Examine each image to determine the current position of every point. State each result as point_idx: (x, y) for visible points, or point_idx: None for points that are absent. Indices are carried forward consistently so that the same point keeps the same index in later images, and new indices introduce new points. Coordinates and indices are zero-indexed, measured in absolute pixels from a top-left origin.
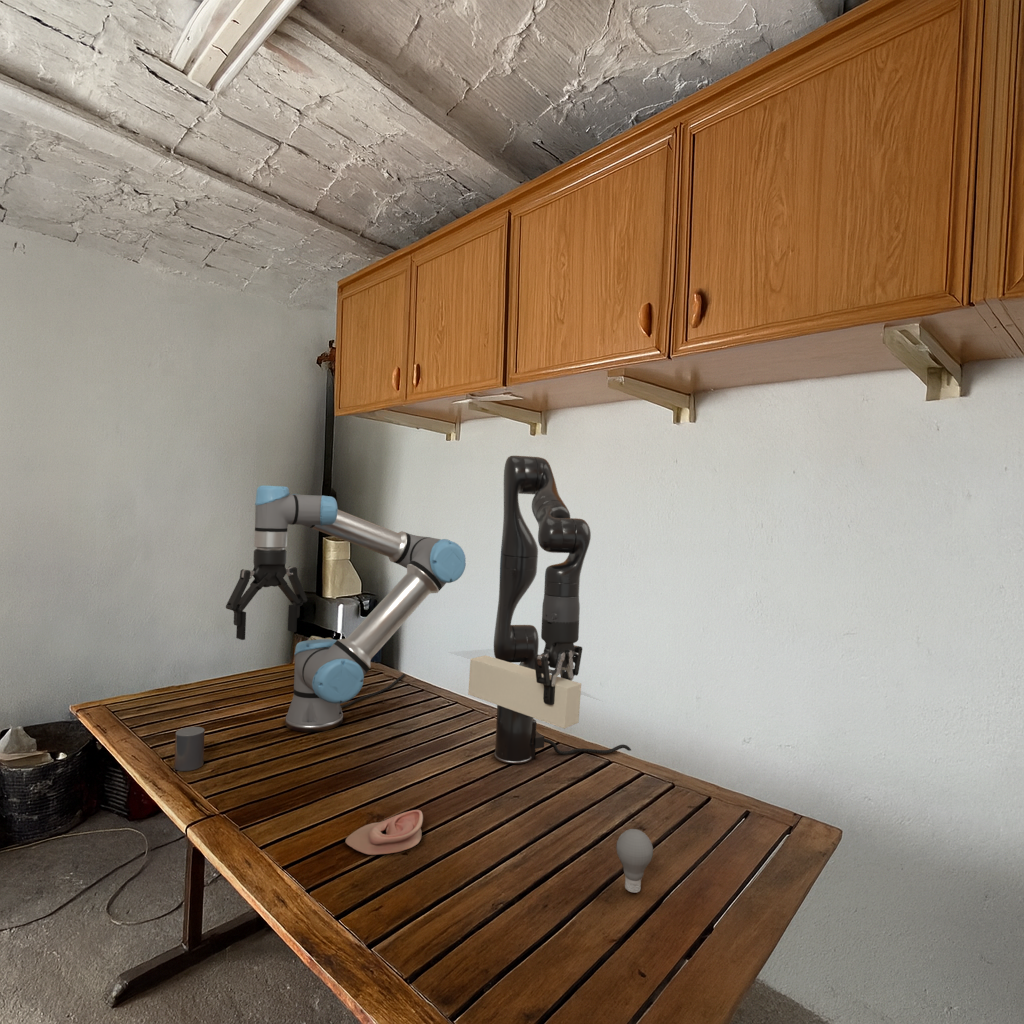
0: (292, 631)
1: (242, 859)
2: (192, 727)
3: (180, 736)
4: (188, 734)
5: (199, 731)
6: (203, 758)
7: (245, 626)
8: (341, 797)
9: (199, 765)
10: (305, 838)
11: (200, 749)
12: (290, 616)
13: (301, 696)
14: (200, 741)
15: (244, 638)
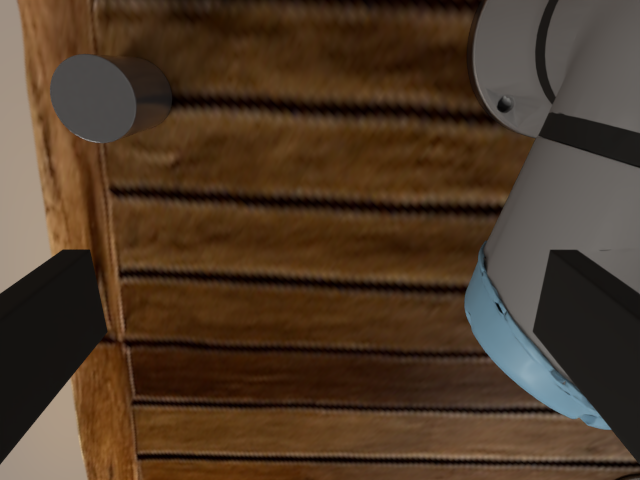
0: (537, 316)
1: (107, 462)
2: (108, 69)
3: (59, 118)
4: (81, 124)
5: (116, 122)
6: (162, 116)
7: (45, 407)
8: (309, 422)
9: (152, 127)
10: (197, 474)
11: (137, 132)
12: (629, 364)
13: (537, 63)
14: (126, 136)
15: (98, 335)
